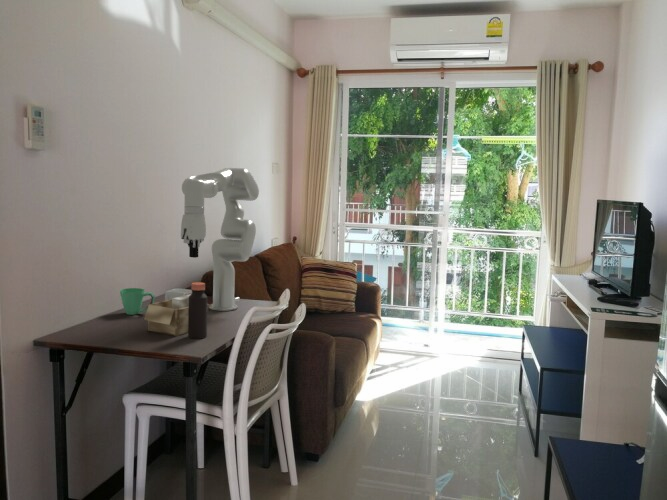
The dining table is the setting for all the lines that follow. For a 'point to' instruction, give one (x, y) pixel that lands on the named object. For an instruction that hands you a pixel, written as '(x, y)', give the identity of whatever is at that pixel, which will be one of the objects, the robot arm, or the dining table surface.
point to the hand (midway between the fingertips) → (193, 257)
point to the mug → (134, 300)
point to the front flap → (159, 314)
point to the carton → (173, 317)
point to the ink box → (176, 293)
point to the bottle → (197, 311)
